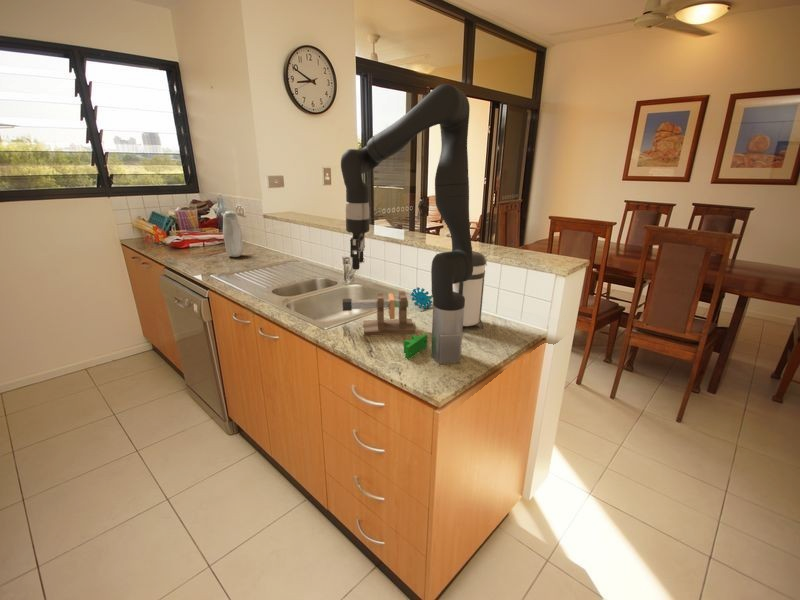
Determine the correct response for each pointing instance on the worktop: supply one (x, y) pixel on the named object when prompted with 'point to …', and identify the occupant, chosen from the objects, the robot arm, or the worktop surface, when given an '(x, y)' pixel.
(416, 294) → the teal spiky round piece
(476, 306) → the coffee press
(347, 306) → the shaft
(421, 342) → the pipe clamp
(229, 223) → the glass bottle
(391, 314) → the spacer
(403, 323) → the stand
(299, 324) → the worktop surface
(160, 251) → the worktop surface
